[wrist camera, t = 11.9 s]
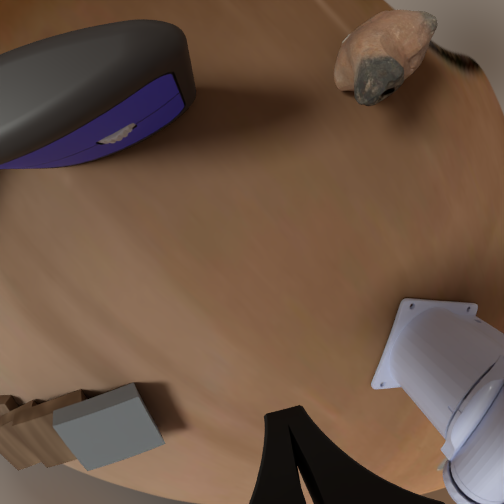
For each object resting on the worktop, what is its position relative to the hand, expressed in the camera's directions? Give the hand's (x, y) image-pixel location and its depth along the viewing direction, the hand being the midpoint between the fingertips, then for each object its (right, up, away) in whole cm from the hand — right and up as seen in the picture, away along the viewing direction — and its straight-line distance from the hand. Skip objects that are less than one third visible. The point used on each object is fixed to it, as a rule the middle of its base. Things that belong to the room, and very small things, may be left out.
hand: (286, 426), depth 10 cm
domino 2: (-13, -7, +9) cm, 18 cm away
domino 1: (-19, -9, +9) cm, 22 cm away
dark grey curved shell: (-13, +15, +5) cm, 20 cm away
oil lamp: (+5, +18, +7) cm, 20 cm away
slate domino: (-9, -5, +10) cm, 14 cm away
